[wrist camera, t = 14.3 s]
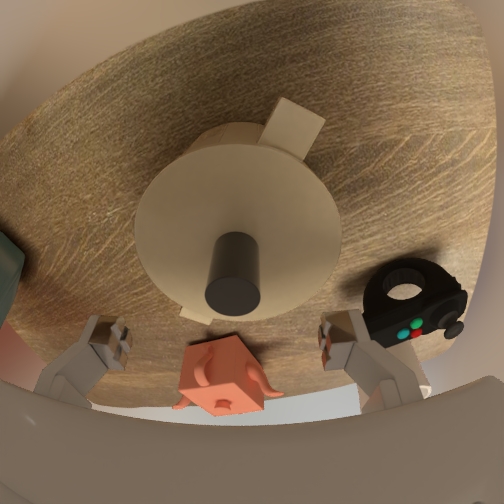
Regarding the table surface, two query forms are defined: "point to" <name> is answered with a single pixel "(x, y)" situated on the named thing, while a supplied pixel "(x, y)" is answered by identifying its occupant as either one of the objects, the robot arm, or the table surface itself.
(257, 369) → the teapot
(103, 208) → the table surface
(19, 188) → the table surface
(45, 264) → the table surface
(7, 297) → the flower pot
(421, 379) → the mug
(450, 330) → the controller
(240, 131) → the pot
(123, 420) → the robot arm
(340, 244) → the lid
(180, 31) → the table surface
